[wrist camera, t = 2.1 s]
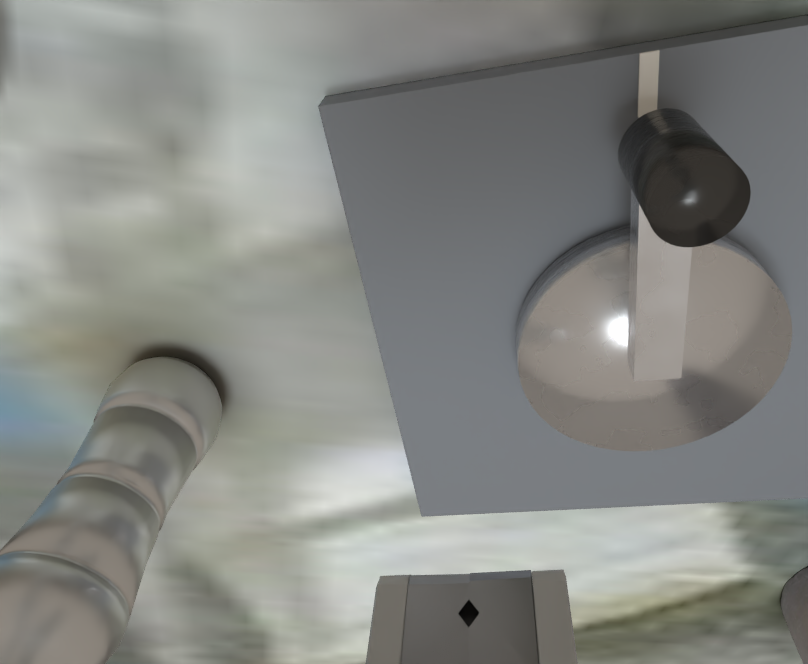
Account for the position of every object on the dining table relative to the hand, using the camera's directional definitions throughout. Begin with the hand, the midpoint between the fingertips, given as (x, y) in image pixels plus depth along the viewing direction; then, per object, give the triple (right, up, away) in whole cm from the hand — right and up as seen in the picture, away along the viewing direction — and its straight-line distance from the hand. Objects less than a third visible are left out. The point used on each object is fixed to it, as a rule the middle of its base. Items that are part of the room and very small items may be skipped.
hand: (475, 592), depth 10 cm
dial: (+10, +6, +19) cm, 22 cm away
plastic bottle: (-15, +1, +28) cm, 31 cm away
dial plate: (+11, +5, +22) cm, 25 cm away
